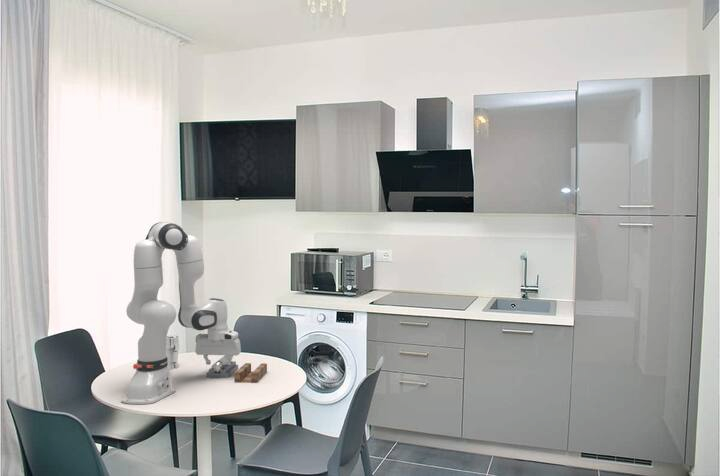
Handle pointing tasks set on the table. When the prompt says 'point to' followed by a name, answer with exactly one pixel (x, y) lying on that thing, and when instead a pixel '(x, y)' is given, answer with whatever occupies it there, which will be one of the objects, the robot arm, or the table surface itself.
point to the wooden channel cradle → (250, 373)
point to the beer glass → (172, 351)
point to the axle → (220, 363)
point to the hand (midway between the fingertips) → (218, 364)
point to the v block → (223, 371)
